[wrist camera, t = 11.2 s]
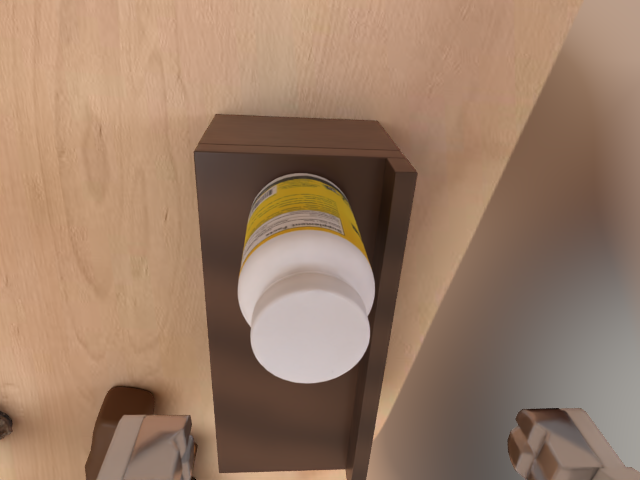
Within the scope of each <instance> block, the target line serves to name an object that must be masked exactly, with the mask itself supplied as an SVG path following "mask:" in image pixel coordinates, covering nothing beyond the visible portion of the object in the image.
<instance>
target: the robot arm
mask: <svg viewBox="0 0 640 480" xmlns="http://www.w3.org/2000/svg"><path fill="white" fill-rule="evenodd" d="M516 421H517V423H518V426H517V427H516V428H514V429H513V430H511V432H510V435H509V438H508V453H509V456H510V460H511V462H512V465H513V467H514V469H515V471H516V472H518V473H519V474H520V475H521V476H522V477H524V478H525V480H640V473H639V472H638V471H636V470H635V469H633V468H632V467H625V465H624V464H623V462H622V461H621V460H620V458H619V457H618V455H617V454H616V453H615V451H614V450H613V449H612V447H611V446H610V444H609V443H608V442H607V440H606V439H605V437H604V436H603V435H602V434H601V432H600V431H599V429H598V428H597V426H596V425H595V424H594V422H593V421H592V420H591V418H590V417H589V415H588V414H587V413H586V412H585V411H584V410H582V409H581V408H565V409H559V408H546V409H522V410H521V411H520V412H518V414H517V417H516ZM191 427H192V423H191V417H190V415H124V416H123V417H122V418H121V420H120V421H119V423H118V425H117V428H116V430H115V433H114V436H113V438H112V441H111V443H110V446H109V448H108V451H107V453H106V456H105V459H104V461H103V464H102V466H101V469H100V471H99V474H98V477H97V479H96V480H191V475H192V469H193V461H194V439H193V437H192V436H191V435H190V431H191Z"/></svg>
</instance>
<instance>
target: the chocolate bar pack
mask: <svg viewBox="0 0 640 480" xmlns="http://www.w3.org/2000/svg"><path fill="white" fill-rule="evenodd" d="M153 412H154V397H153V395H152V394H151V393H150V392H148V391H145V390H141V389H136V388H130V387H114V388H112V389H110V390H109V391H108V393H107V395H106V397H105V399H104V401H103V404H102V407H101V409H100V412H99V414H98V417H97V420H96V424H95V427H94V431H93V438H92V446H91V451H90V454H89V457H88V459H87V462H86V465H85V471H86V480H96V479H97V477H98V474H99V471H100V469H101V466H102V464H103V461H104V459H105V456H106V453H107V451H108V448H109V446H110V443H111V441H112V438H113V436H114V433H115V430H116V428H117V425H118V423H119V421H120V420H121V418H122V417H123V416H124V415H153ZM196 452H197V444H196V443H195V442H194V461H195V456H196ZM194 461H193V465H194ZM191 480H196V479H195V478H194V477H192V476H191Z"/></svg>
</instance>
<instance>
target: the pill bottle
mask: <svg viewBox="0 0 640 480" xmlns="http://www.w3.org/2000/svg"><path fill="white" fill-rule="evenodd" d="M374 296H375V282H374V276H373V272H372V268H371V266H370V263H369V260H368V257H367V254H366V251H365V248H364V245H363V242H362V239H361V236H360V233H359V230H358V227H357V224H356V221H355V218H354V215H353V212H352V209H351V207H350V204H349V202H348V200H347V198H346V197H345V195H344V194H343V192H342V191H341V190H340V189H339V188H338V187H337V186H336V185H335V184H333V183H332V182H330V181H329V180H327V179H325V178H322V177H320V176H317V175H313V174H307V173H294V174H289V175H285V176H282V177H279V178H277V179H275V180H273V181H272V182H270V183H269V184H267V185H266V186H265V187H264V188H263V189H262V190H261V191H260V192H259V194H258V195H257V196H256V198H255V200H254V202H253V204H252V206H251V210H250V213H249V218H248V223H247V230H246V236H245V243H244V249H243V255H242V261H241V268H240V274H239V281H238V301H239V305H240V309H241V311H242V314H243V316H244V318H245V319H246V321H247V323H248V324H249V325H250V327H251V334H250V338H251V346H252V350H253V352H254V355H255V357H256V358H257V360H258V361H259V363H260V364H261V365H262V366H263V367H264V368H265V369H266V370H267V371H269V372H270V373H272V374H273V375H275V376H277V377H279V378H282V379H284V380H287V381H291V382H296V383H318V382H324V381H328V380H331V379H334V378H337V377H339V376H341V375H342V374H344V373H346V372H347V371H349V370H350V369H351V368H353V367H354V366H355V365H356V364H357V363H358V362H359V361H360V359H361V358H362V357H363V355H364V353H365V351H366V349H367V347H368V344H369V339H370V325H369V321H368V317H367V316H368V315H369V313H370V310H371V308H372V305H373V301H374Z"/></svg>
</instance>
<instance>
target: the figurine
mask: <svg viewBox="0 0 640 480" xmlns="http://www.w3.org/2000/svg"><path fill="white" fill-rule="evenodd" d="M11 432H12V420H11V419H10V418H9V417H8V416H7V415H6V414H4V413H2V412H0V439H2V438H4V437H5V436H6V435H8V434H10V433H11Z"/></svg>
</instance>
